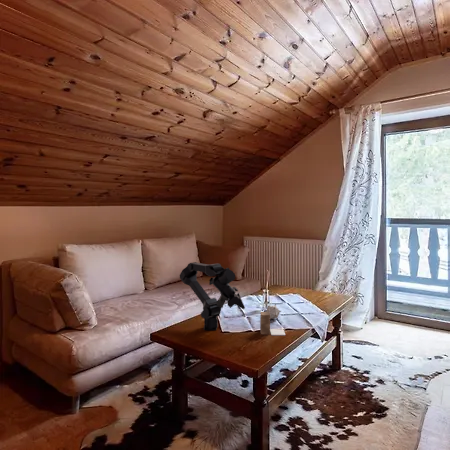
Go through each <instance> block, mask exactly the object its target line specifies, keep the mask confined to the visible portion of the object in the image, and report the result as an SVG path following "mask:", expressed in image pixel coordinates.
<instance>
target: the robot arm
mask: <svg viewBox="0 0 450 450" xmlns="http://www.w3.org/2000/svg"><path fill="white" fill-rule="evenodd" d="M198 272H199V273H200V272H201V273H204V274H205V275H207V276H208V277H211V278H210V279H209V280H208V281H209V285H210V286H211V285H213V286H214V287H215V288H216V289H217V290H218V291H219V298H218V299H217V298H216V297H212V298H211V297H210V296H209V295H208V292H206V291H205V289H204V288H203V286H202V285H201V284H200V283H199V281H198V279H197V278H198V277H197V275H198ZM179 279H180V280H181V282H182V284H183V283H184V284H185V285H187V286H189V288H190V289H191V290H192V291H193V293H194V294H195V295H196V296H197V298H198V300H199V301H200V303H201V304H202V311H201V312H200V316H201V318H202V319H203V321H204V322H203V324H204V325H203V330H204V331H217V328H218V326H219V324H218V321H219V319H218V318H217V317H220V315H221V311H222V309H223V307H224V305H225V303H226V302H227V307H228V308H229V309H231V308H233V307H234V306H237V307H238V308H241V309H242V310H245V308H246V307H245V305H244V302H243V299H242V298H241V294H240V293H239V292H238V291H239V289H238V288H237V287H236V286H233V287H232V286H231V284H230V283H231V282H233V281H235V280H236V274H235V272H234V271H233V270H231V269H230V268H229V267H226V268H225V267H223V266H222V265H221V263H212V264H206V263H201V262H196V261H195V262H189V263H188V264H187V266H185V267H184V268H183V269H182V270H181V272H180V274H179ZM236 292H238V293H236Z"/></svg>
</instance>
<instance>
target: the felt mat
mask: <svg viewBox="0 0 450 450" xmlns="http://www.w3.org/2000/svg"><path fill="white" fill-rule="evenodd" d="M270 335H271V336H286V333H285V330H284V329H283V328H270Z"/></svg>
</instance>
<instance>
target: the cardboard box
mask: <svg viewBox="0 0 450 450" xmlns="http://www.w3.org/2000/svg"><path fill="white" fill-rule="evenodd" d="M259 318H260V326H259V327H260V328H259V329H260V330H259V331H260V335H271V332H270V329H271V319H270V312H266V311H260V317H259Z"/></svg>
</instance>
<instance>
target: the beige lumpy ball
mask: <svg viewBox="0 0 450 450" xmlns="http://www.w3.org/2000/svg"><path fill="white" fill-rule="evenodd" d="M266 306H267V308H266V310H265V312H270V320H274V319H277V320H279V318H278V317H279V315H280V313H281V312H282V310H280V309H279V308H278V306H277V304H276V303H275V304H274V305H269V304H266Z"/></svg>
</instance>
